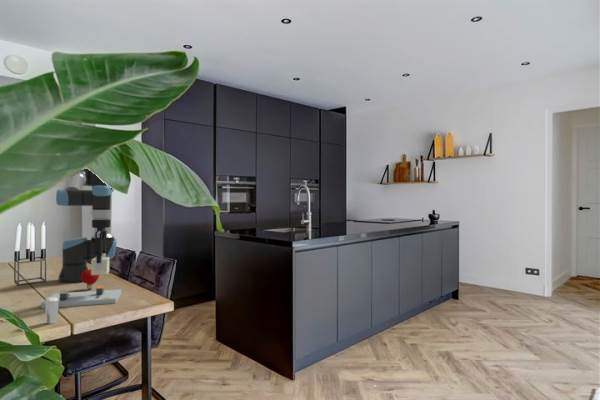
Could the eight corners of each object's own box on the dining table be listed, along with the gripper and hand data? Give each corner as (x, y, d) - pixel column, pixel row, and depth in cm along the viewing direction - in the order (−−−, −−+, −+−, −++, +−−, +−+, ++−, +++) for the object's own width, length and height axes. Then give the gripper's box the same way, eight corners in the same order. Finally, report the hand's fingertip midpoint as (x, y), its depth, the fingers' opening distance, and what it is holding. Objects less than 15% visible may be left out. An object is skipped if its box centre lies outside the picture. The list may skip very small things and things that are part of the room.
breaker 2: (97, 293, 167) (97, 286, 167) (103, 292, 167) (103, 286, 167) (96, 294, 164) (96, 287, 164) (102, 294, 165) (102, 287, 165)
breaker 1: (61, 298, 157) (61, 291, 157) (68, 297, 158) (68, 290, 158) (59, 299, 155) (59, 292, 155) (66, 299, 155) (66, 292, 155)
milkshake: (55, 324, 130) (55, 297, 130) (40, 324, 131) (41, 296, 131) (64, 320, 135) (64, 294, 135) (50, 320, 135) (50, 293, 135)
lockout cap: (94, 272, 168) (94, 257, 168) (109, 271, 170) (109, 257, 170) (91, 275, 162) (91, 260, 162) (106, 274, 164) (106, 259, 164)
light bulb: (88, 292, 176) (88, 271, 176) (76, 291, 178) (76, 271, 178) (102, 287, 186) (102, 268, 186) (90, 286, 187) (91, 267, 187)
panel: (53, 297, 165) (54, 293, 165) (121, 293, 175) (121, 289, 175) (40, 308, 149) (40, 303, 149) (115, 303, 159) (115, 298, 159)
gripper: (96, 218, 174) (95, 265, 174) (87, 220, 156) (86, 273, 156) (113, 217, 177) (113, 264, 177) (106, 220, 158) (105, 272, 158)
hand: (100, 268), depth 166 cm, fingers closed on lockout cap, 7 cm apart
